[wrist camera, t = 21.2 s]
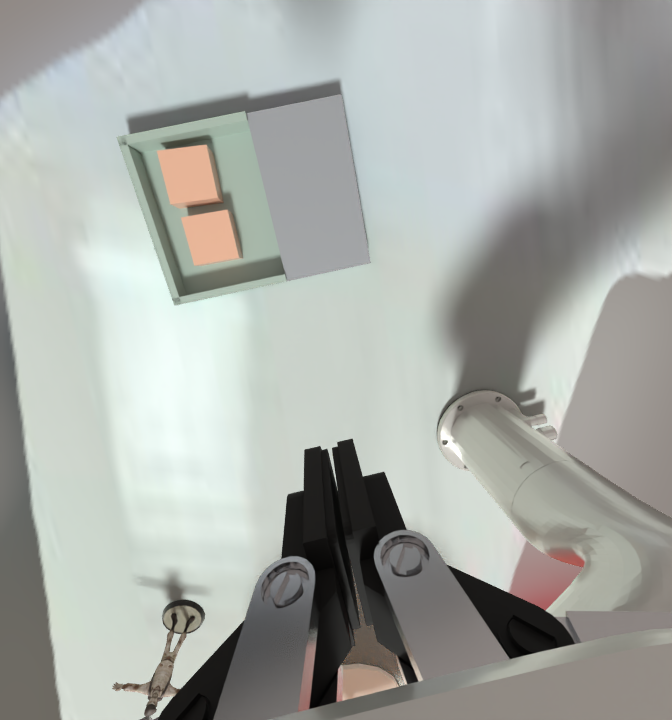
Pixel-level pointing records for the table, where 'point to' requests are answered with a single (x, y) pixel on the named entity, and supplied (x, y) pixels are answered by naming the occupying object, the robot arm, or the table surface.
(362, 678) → the round pedestal stand
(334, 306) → the table surface
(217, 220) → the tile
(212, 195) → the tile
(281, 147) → the deck
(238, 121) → the tray
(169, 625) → the figurine
